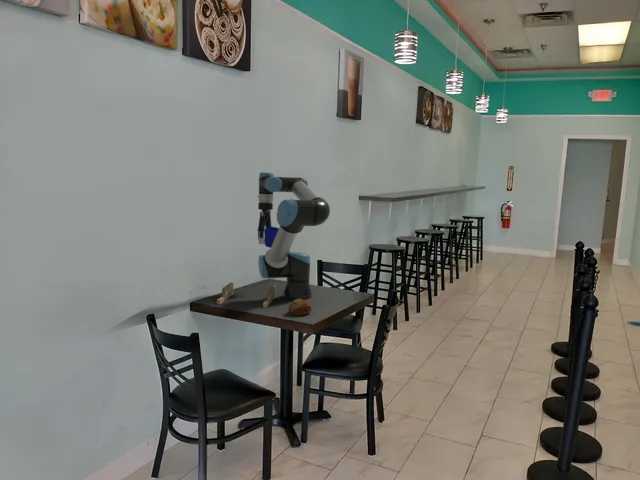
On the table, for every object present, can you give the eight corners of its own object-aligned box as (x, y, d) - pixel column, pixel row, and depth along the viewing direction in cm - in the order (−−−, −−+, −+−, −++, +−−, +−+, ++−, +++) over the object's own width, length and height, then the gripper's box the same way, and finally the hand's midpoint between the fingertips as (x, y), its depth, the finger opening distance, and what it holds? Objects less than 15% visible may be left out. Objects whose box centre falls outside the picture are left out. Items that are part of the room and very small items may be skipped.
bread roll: (297, 317, 241) (290, 301, 242) (316, 308, 238) (308, 292, 239) (290, 322, 232) (282, 306, 232) (309, 313, 229) (301, 297, 229)
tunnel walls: (275, 297, 266) (276, 285, 265) (269, 303, 252) (270, 291, 251) (230, 293, 269) (230, 282, 268) (222, 300, 255) (222, 288, 254)
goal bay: (269, 304, 251) (269, 300, 251) (265, 307, 244) (266, 303, 244) (221, 300, 254) (221, 296, 254) (216, 304, 247) (216, 299, 247)
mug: (254, 244, 278) (256, 226, 276) (275, 244, 283) (277, 226, 281) (259, 248, 271) (261, 230, 268) (280, 248, 276) (282, 230, 274)
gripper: (264, 200, 284) (263, 239, 286) (252, 202, 259) (251, 244, 262) (277, 201, 283) (276, 239, 285) (267, 203, 258) (266, 245, 261)
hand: (264, 242), depth 274 cm, fingers open, 13 cm apart
